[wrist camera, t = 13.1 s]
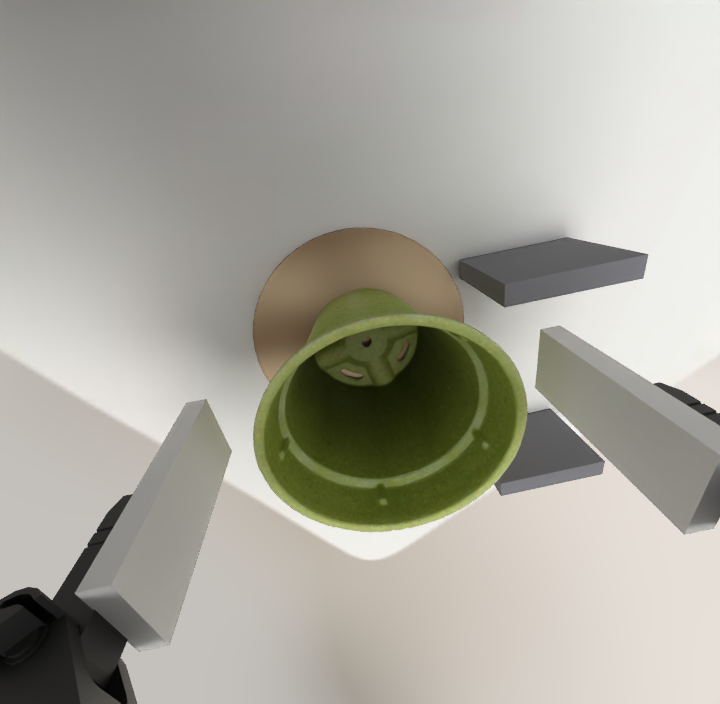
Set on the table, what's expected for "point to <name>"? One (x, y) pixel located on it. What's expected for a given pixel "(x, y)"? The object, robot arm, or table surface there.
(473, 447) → the plant pot
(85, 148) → the table surface
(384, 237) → the coaster
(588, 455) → the twin grey plates
